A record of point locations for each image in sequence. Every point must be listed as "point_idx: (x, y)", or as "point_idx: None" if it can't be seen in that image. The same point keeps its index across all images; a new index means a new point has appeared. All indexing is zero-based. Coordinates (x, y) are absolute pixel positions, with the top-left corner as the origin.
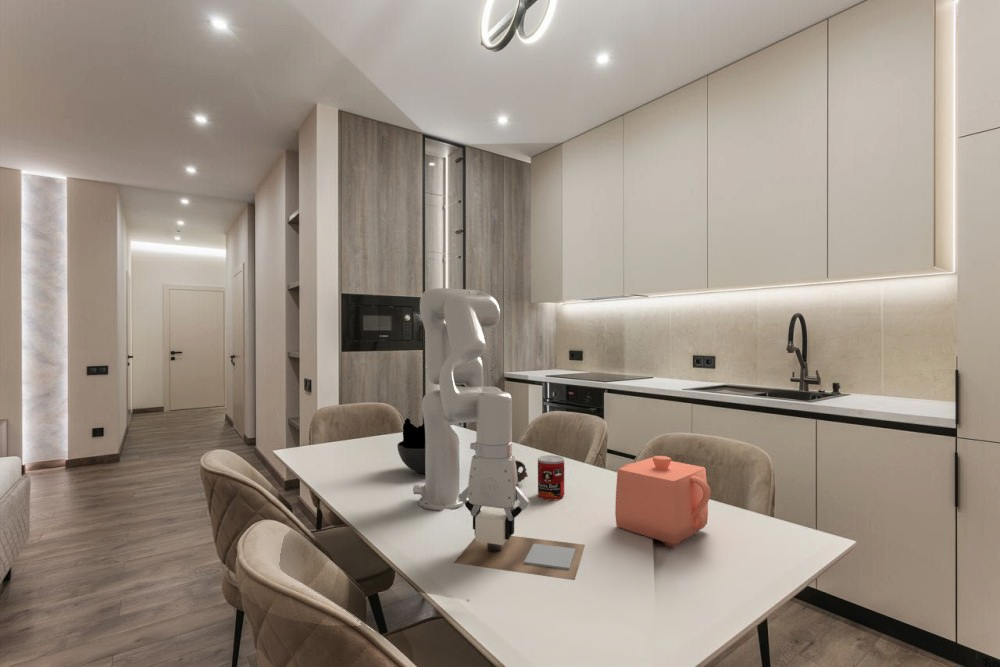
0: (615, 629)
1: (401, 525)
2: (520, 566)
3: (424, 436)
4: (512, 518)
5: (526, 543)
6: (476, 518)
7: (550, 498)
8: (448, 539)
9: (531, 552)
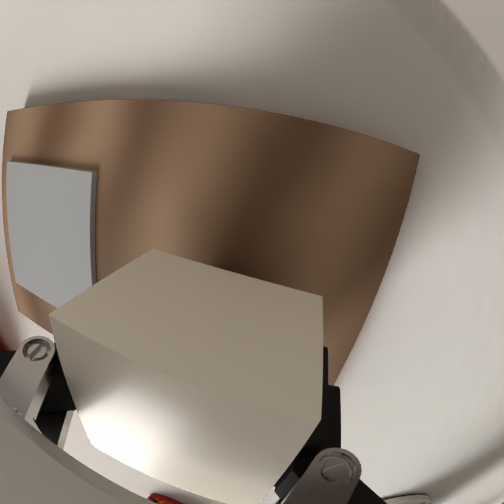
0: (14, 12)
1: (496, 435)
2: (105, 145)
3: None
4: (27, 341)
5: None
6: (309, 406)
7: (166, 499)
8: (412, 404)
9: (83, 257)
